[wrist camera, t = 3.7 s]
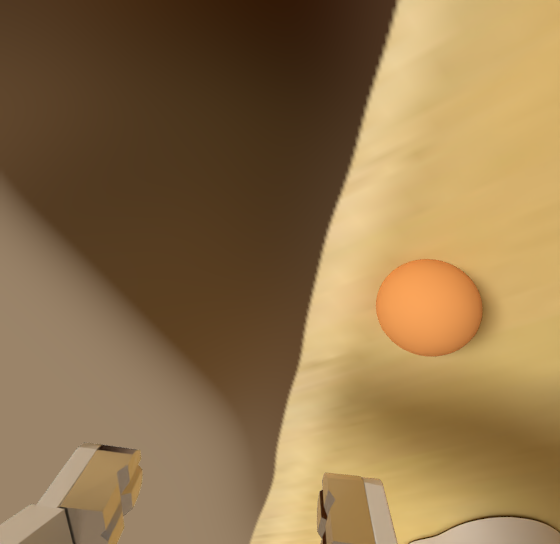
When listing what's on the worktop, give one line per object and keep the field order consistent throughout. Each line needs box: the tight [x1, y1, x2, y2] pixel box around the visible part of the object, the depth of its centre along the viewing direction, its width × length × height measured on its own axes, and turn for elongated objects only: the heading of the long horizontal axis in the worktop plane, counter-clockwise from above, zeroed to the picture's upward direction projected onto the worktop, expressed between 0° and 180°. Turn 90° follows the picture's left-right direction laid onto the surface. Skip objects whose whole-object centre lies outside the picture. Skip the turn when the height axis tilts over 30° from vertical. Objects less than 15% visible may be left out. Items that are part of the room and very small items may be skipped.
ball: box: [376, 259, 482, 356], centre depth 20 cm, size 6×6×6 cm
